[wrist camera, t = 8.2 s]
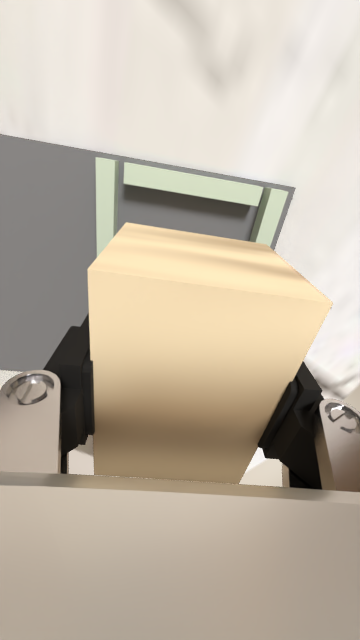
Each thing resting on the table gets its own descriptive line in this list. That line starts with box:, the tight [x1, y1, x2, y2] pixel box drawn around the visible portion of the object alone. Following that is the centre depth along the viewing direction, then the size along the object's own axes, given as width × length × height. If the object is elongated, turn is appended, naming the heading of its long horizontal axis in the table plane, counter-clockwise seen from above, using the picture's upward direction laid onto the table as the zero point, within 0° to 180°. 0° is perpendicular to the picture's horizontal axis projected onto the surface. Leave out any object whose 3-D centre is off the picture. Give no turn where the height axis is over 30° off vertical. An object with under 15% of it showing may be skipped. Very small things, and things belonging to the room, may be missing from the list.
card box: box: [87, 222, 333, 484], centre depth 10 cm, size 8×6×5 cm
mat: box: [0, 134, 295, 372], centre depth 15 cm, size 20×14×2 cm
